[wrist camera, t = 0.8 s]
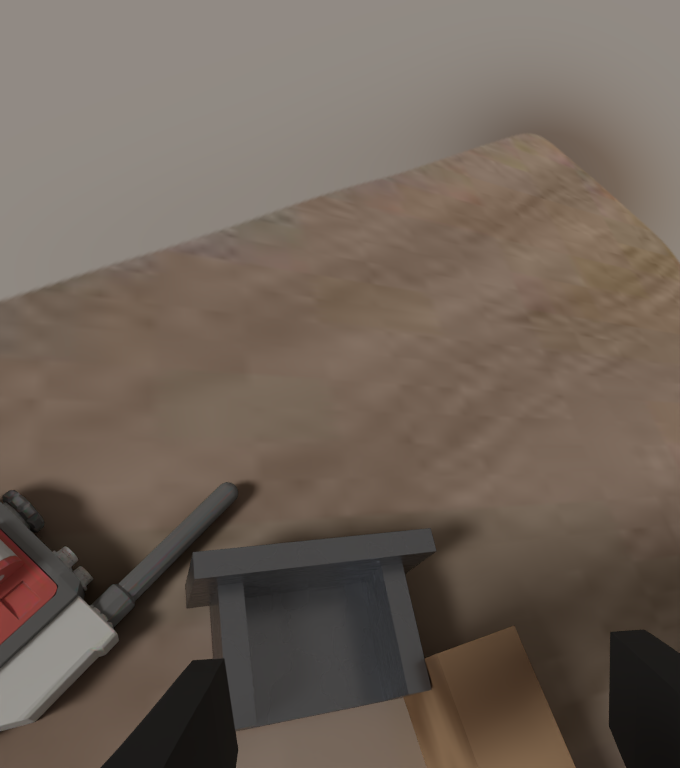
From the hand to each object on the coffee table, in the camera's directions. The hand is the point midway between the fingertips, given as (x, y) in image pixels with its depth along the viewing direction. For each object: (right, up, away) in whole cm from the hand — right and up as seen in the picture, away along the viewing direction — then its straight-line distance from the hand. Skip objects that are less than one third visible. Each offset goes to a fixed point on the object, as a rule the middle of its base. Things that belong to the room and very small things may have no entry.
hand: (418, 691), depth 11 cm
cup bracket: (-3, -6, +15) cm, 17 cm away
